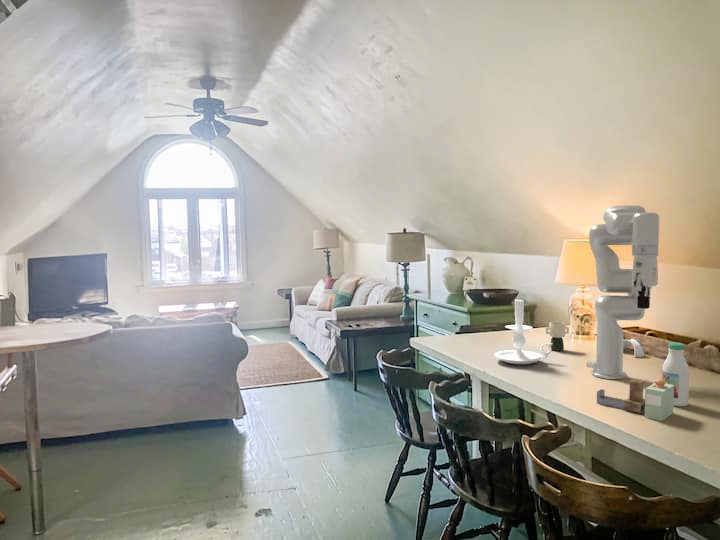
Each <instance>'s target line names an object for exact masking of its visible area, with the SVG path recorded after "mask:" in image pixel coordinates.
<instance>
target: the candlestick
mask: <svg viewBox="0 0 720 540" xmlns="http://www.w3.org/2000/svg"><path fill="white" fill-rule="evenodd" d="M524 303H525V300H522V298H520V299H519V298H515V299H514V317H515V324H509V325H505V326H504V327H505V328H506V329H508V330H511V331H513V332H514V334H513V336H512V338H511V343H512V345H513V346H514V347H515V350H514V349H511V350H507V349H506V350H500V351H496V352H495V353H494V354H493V355H494V357H496V358H498V360H501V361H502V362H504V363H507V364H512V365H531V364H534V363H536V362H538V361H540V360H544V359H547V358H548V356H549V354H550V353H552V350H553V349H552V348H551V345H552V344H553V343H551V342H550V343H543V344H541V346H540V352H541V353H543V354H544V356H543V354H541V353H538V352H534V351H530V350H529V351H528V350H523V349H522V348H523V347H524V346H525V344H526V341H527V340H526V337H525V335H524V332H525V331H528V330H531V329H533V326H530V325H525V324H523V323H524V322H525V321H524V316H525V314H524V313H525V311H524V309H525V308H524V307H525V304H524ZM545 346H548V347H549V350H548V351H547V352H545V351H543V347H545Z"/></svg>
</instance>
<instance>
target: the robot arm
mask: <svg viewBox="0 0 720 540" xmlns="http://www.w3.org/2000/svg"><path fill="white" fill-rule="evenodd" d="M659 215H660V214H658V213H656V212H647V210H646V209H645V208H644V207H643V206H641V205H638V204H637V205H613V206H610V207H608V208H607V209H606V210H605V211H604V213H603V221H604V223H600V224H595V225H593V226H592V227H591V228H590V229H589V232H588V233H589V234H588V240H589V245H590V246H589V247H590V249H591V252H592V254H593V257H594V259H595V271H596V282H597V288H598V290H599V291H600V292H602V293H608V294H627V295H603V296H600V297H598V298H597V299H596V300H595V302H594V310H595V317H596V359H595V360H596V361H595V362H592V361H587V362H586V365H585V366H586V367H587V368H590V369H591V368H592V370H591V375H592V376H595V377H597V378H600V379H604V380H605V379H606V380H624V379H627V377H628V374H627V373H626V372H625V371H624V349H623V340H624V335H625V334H624V330H623V327H621V326H620V325H619V323H618V322H619V321H640V320H642V319H643V318H644V316H645V310H648V309H650V305H651V303H650V302H651V301H650V300H651V290H652V287H657V285H658V284H659V268H658V267H659V266H658V265H659V264H658V257H659V242H660V241H659V237H660V236H659V235H660V216H659ZM609 246H631V256H632V257H633V261H632V262H633V263H632V268H621V267H620V259H619V255H618V254H617V253H616V252H615V251H614V250H613V249H612V248H611V247H609Z"/></svg>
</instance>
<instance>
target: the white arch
mask: <svg viewBox="0 0 720 540" xmlns="http://www.w3.org/2000/svg"><path fill="white" fill-rule="evenodd" d="M630 344H631V345H632V347H633V348H634V349H633V350H634V352H633V353H634V354H633V355H634V357H633V358H644V357H645V352H644V349H643V347H642V345H641V344H640V343H639V342H638V340H636V339H634V338H631V339H623V350H625V349H626V348H627V347H629V345H630Z"/></svg>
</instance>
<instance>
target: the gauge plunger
mask: <svg viewBox="0 0 720 540" xmlns="http://www.w3.org/2000/svg"><path fill="white" fill-rule="evenodd" d="M654 383H656V388H662V389H664V384H666V381H665V380H662V378H661V379H660V378H655V379H654Z"/></svg>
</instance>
